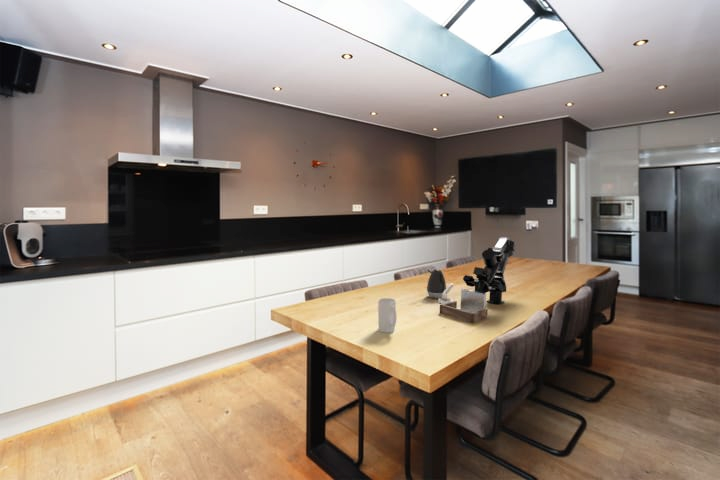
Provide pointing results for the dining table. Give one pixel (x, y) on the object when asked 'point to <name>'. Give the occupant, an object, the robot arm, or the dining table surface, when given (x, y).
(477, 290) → the robot arm
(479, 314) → the bay
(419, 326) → the dining table surface
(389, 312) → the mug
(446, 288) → the hook
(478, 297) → the bracket
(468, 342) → the dining table surface
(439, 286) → the pump dispenser
